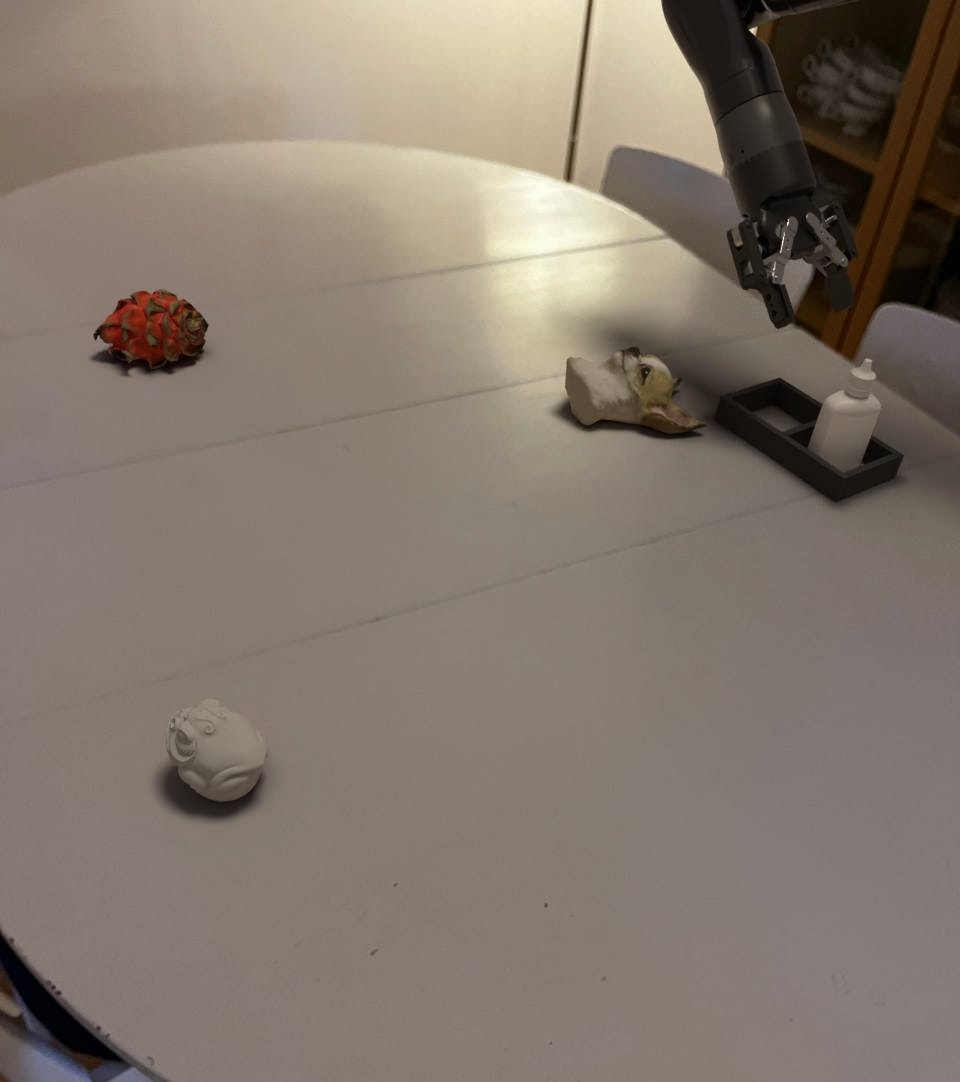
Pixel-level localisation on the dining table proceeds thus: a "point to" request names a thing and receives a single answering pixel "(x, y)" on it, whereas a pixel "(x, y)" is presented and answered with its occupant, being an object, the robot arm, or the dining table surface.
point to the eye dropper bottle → (847, 421)
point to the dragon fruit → (153, 328)
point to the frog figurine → (215, 750)
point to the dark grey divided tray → (802, 439)
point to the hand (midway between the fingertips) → (816, 317)
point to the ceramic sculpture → (626, 392)
